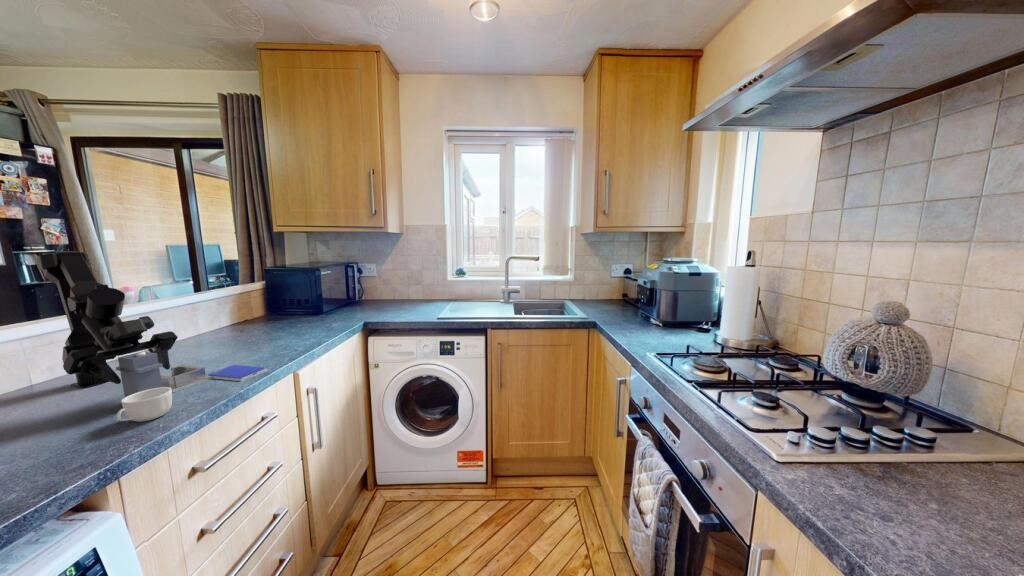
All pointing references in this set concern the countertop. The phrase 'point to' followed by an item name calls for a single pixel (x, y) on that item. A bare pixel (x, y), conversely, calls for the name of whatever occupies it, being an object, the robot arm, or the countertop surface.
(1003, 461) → the countertop surface
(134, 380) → the block
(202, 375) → the chassis
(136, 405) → the teacup
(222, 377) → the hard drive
